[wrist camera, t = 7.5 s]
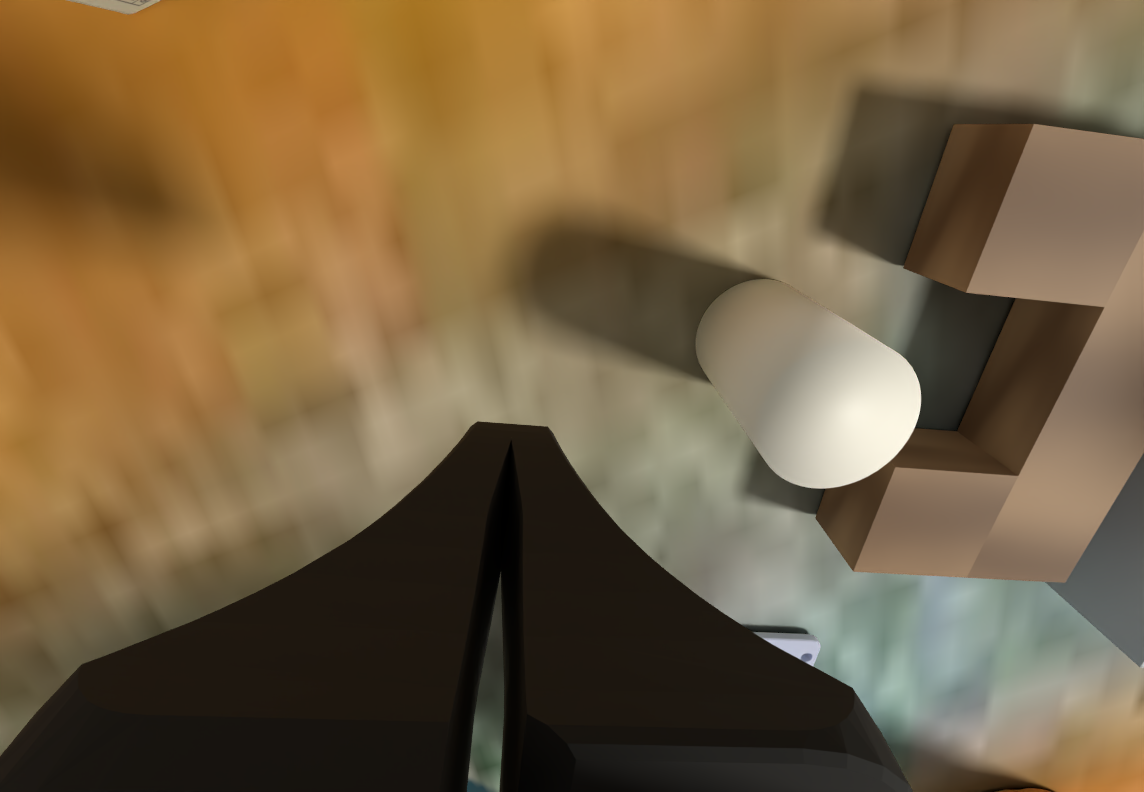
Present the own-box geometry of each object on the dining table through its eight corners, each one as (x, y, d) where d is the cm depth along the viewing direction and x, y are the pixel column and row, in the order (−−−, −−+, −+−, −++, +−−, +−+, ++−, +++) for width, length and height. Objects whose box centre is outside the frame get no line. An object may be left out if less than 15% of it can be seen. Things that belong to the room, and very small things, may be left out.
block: (1004, 529, 23) (1065, 582, 21) (815, 518, 23) (853, 571, 20) (1198, 157, 18) (1319, 163, 15) (954, 123, 17) (1033, 123, 14)
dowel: (798, 394, 20) (893, 490, 15) (687, 390, 20) (743, 486, 15) (826, 281, 19) (943, 344, 13) (705, 275, 19) (775, 337, 13)
